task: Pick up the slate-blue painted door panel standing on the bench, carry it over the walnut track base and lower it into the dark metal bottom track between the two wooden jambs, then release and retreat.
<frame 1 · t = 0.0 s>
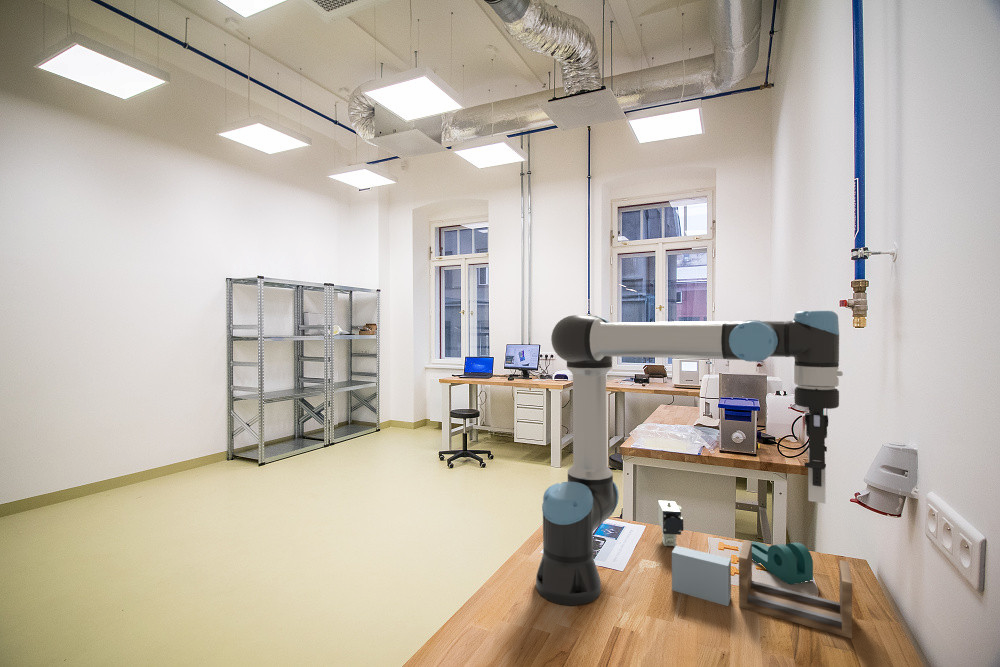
hand: (816, 491, 96), 28 cm above the workbench, fingers open, 13 cm apart
door panel: (701, 594, 109), on the workbench
bracket: (772, 566, 122), on the workbench
track: (793, 609, 103), on the workbench
pneumatic valve: (670, 544, 134), on the workbench
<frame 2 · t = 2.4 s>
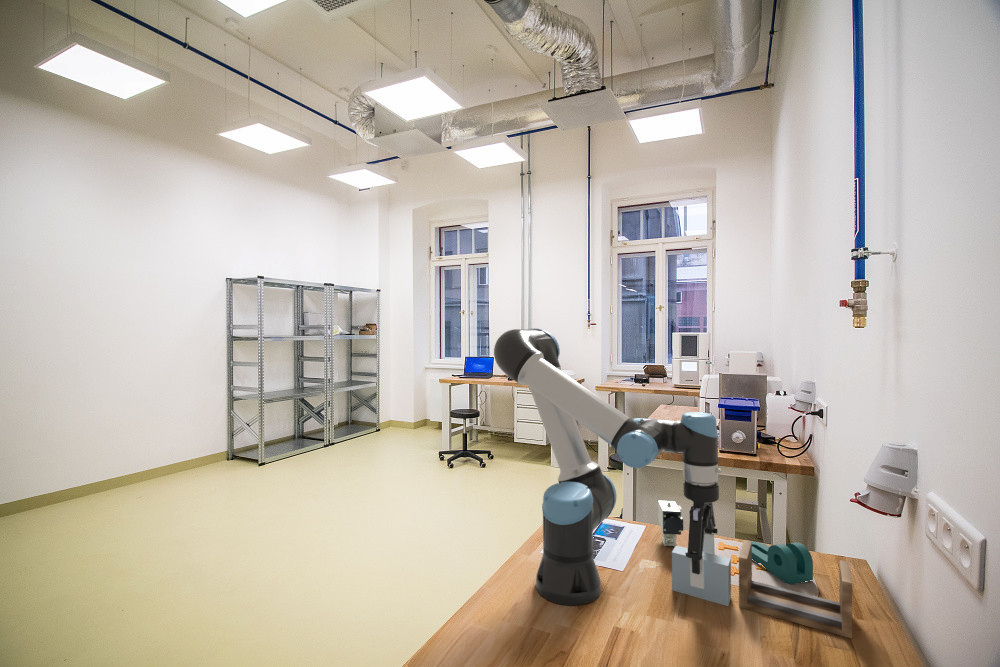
hand: (703, 573, 109), 5 cm above the workbench, fingers open, 13 cm apart
nothing on the workbench moved.
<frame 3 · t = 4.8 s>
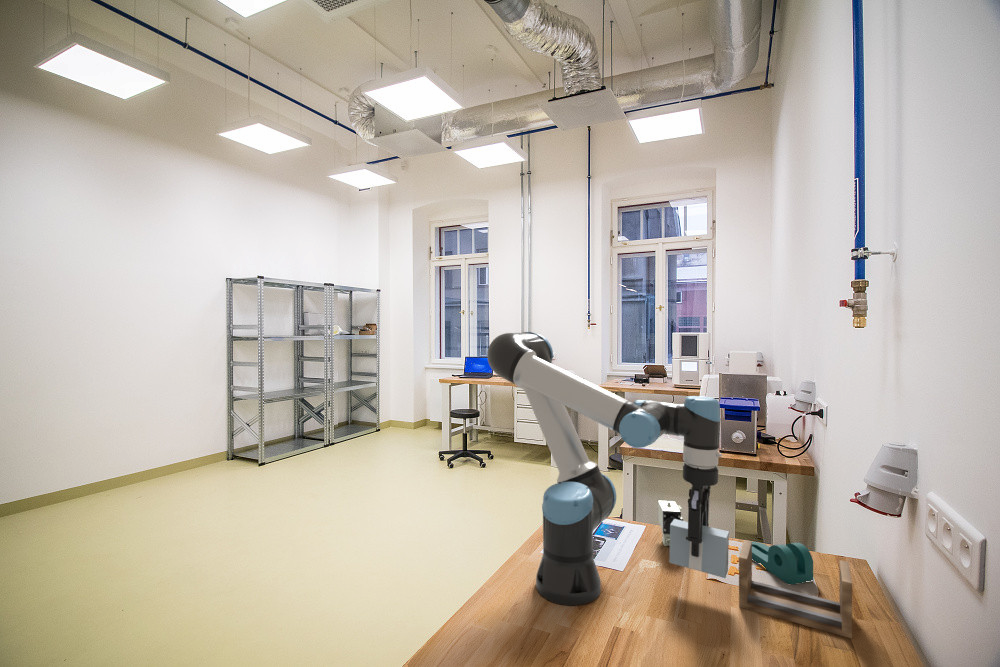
hand: (697, 564, 110), 7 cm above the workbench, fingers closed on door panel, 4 cm apart
door panel: (698, 566, 110), point 6 cm above the workbench, touching gripper
everything else where it was.
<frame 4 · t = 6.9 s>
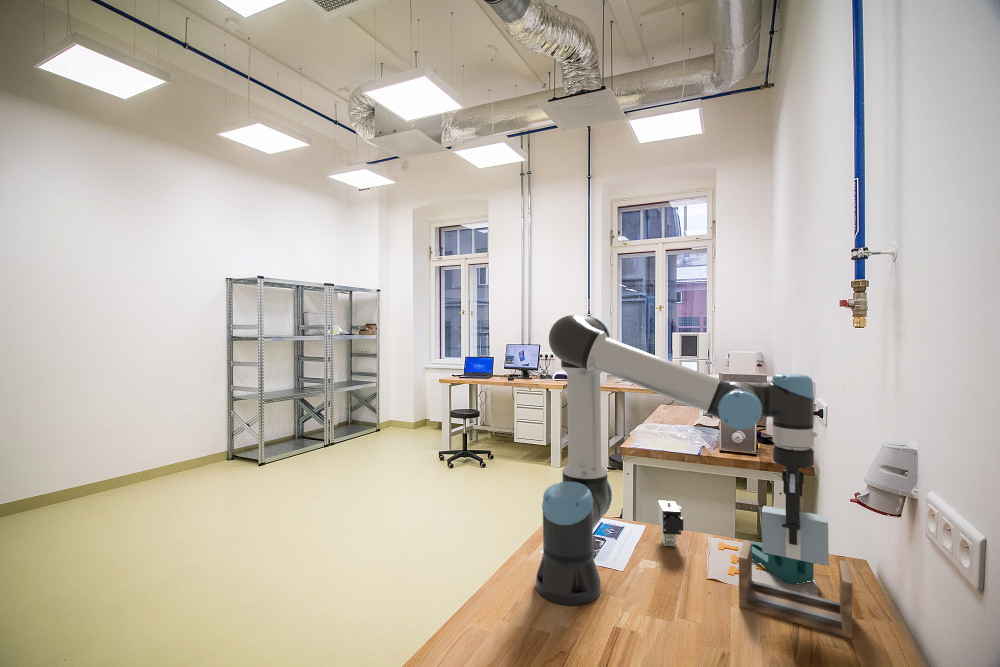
hand: (793, 553, 103), 12 cm above the workbench, fingers closed on door panel, 4 cm apart
door panel: (794, 555, 102), point 12 cm above the workbench, touching gripper
everything else where it was.
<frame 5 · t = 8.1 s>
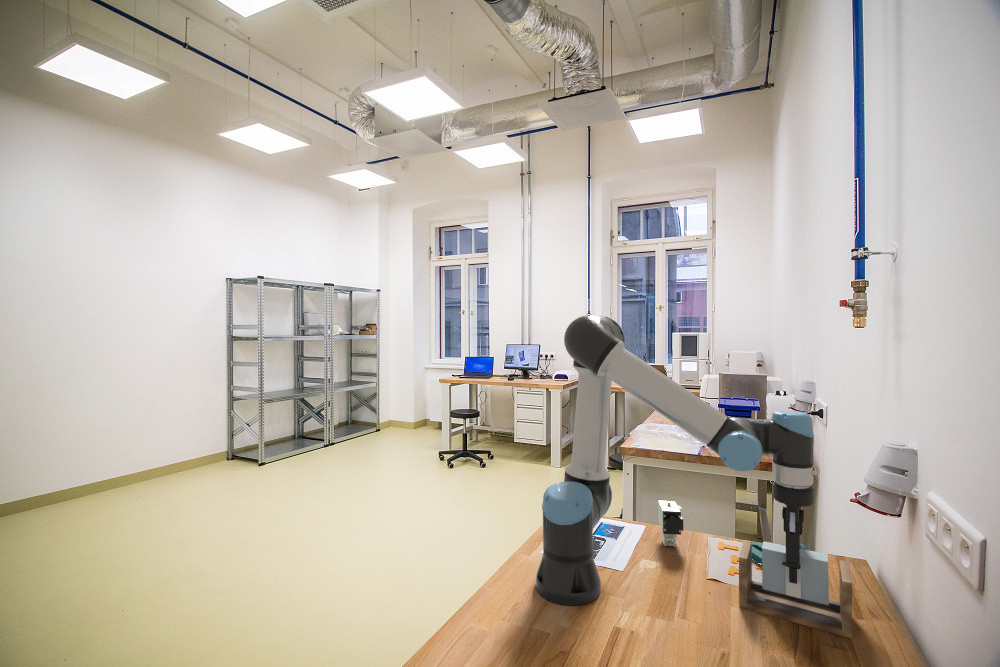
hand: (793, 590, 103), 4 cm above the workbench, fingers closed on door panel, 4 cm apart
door panel: (794, 592, 103), point 4 cm above the workbench, touching gripper
everything else where it was.
when the fingers open (3 cm above the workbench, at t = 9.1 s): door panel drops 1 cm, resting on track.
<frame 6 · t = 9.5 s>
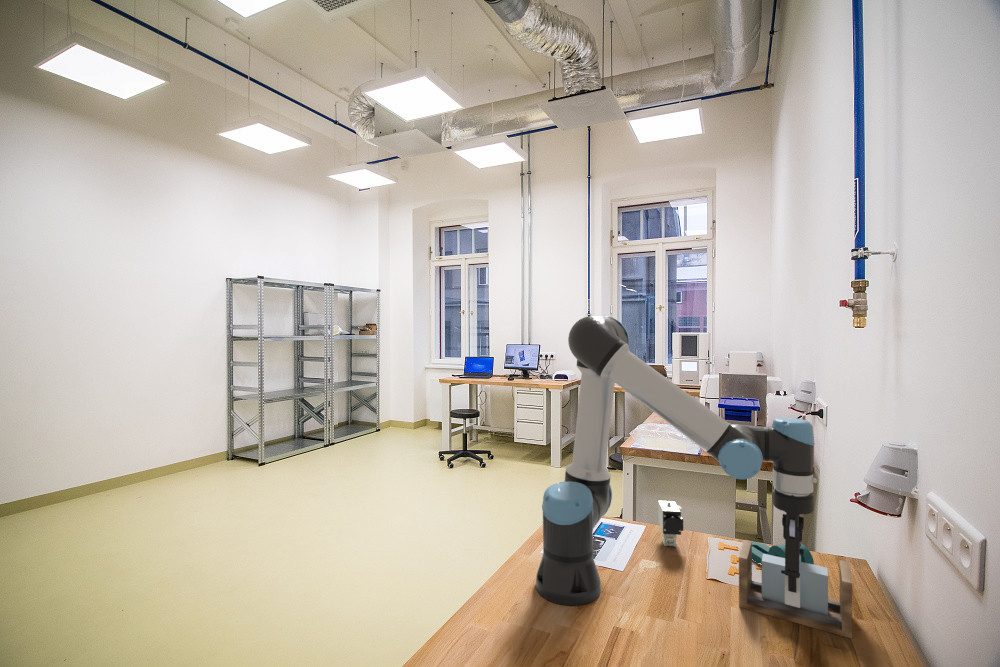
hand: (793, 593, 103), 4 cm above the workbench, fingers open, 9 cm apart
door panel: (794, 605, 103), point 1 cm above the workbench, touching track
everything else where it was.
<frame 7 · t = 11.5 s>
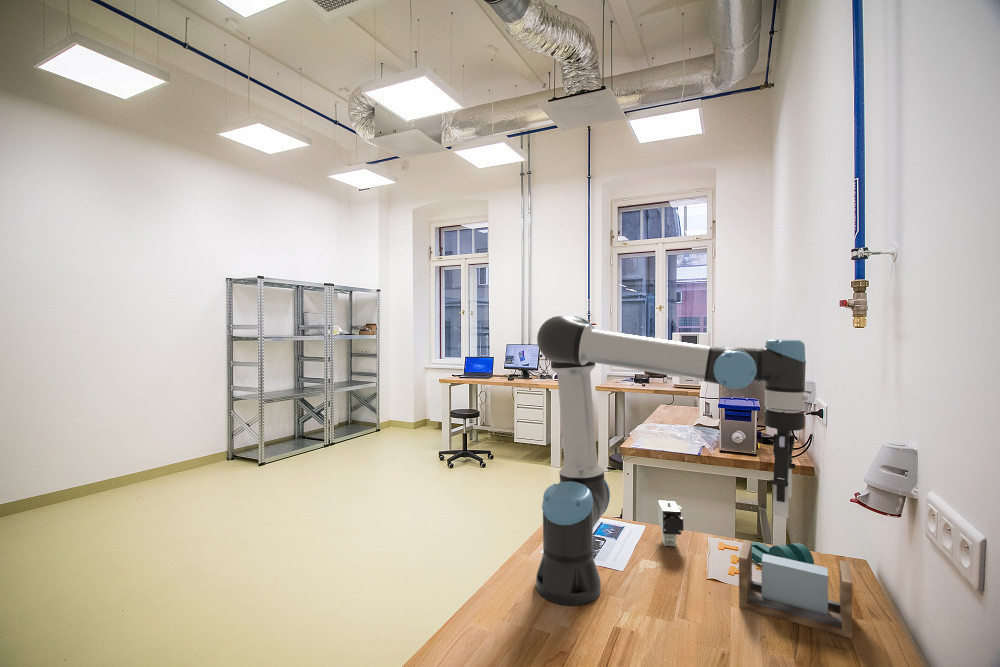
hand: (782, 505, 104), 22 cm above the workbench, fingers open, 13 cm apart
nothing on the workbench moved.
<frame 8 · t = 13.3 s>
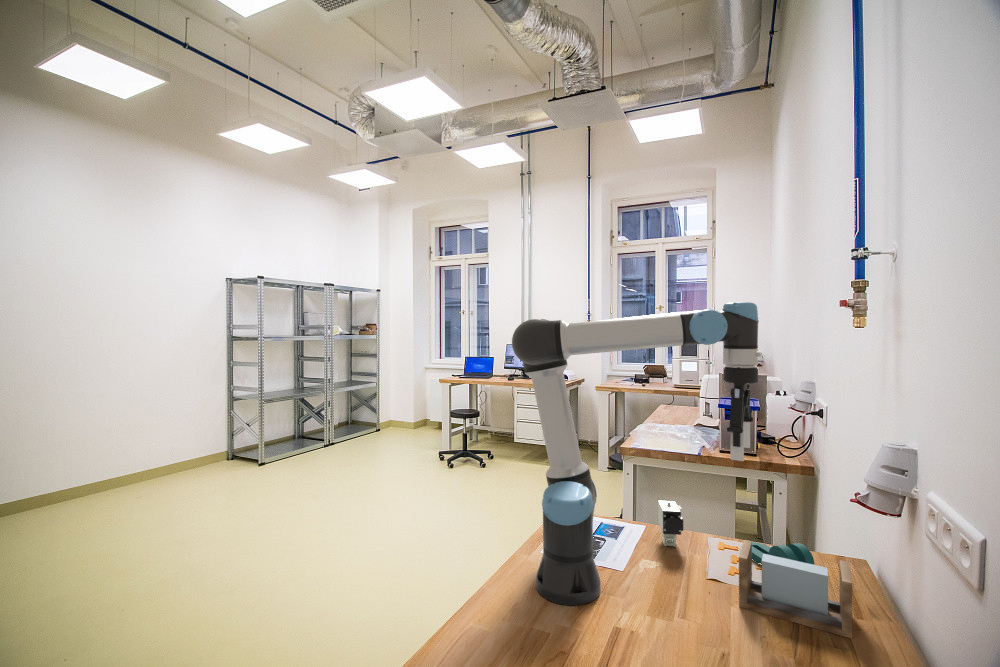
hand: (740, 453, 115), 31 cm above the workbench, fingers open, 13 cm apart
nothing on the workbench moved.
at the end: door panel inside the target area on the track (0.2 cm from its centre), point 1.0 cm above the track's base; door panel tilted 0°; the gripper is holding nothing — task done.
